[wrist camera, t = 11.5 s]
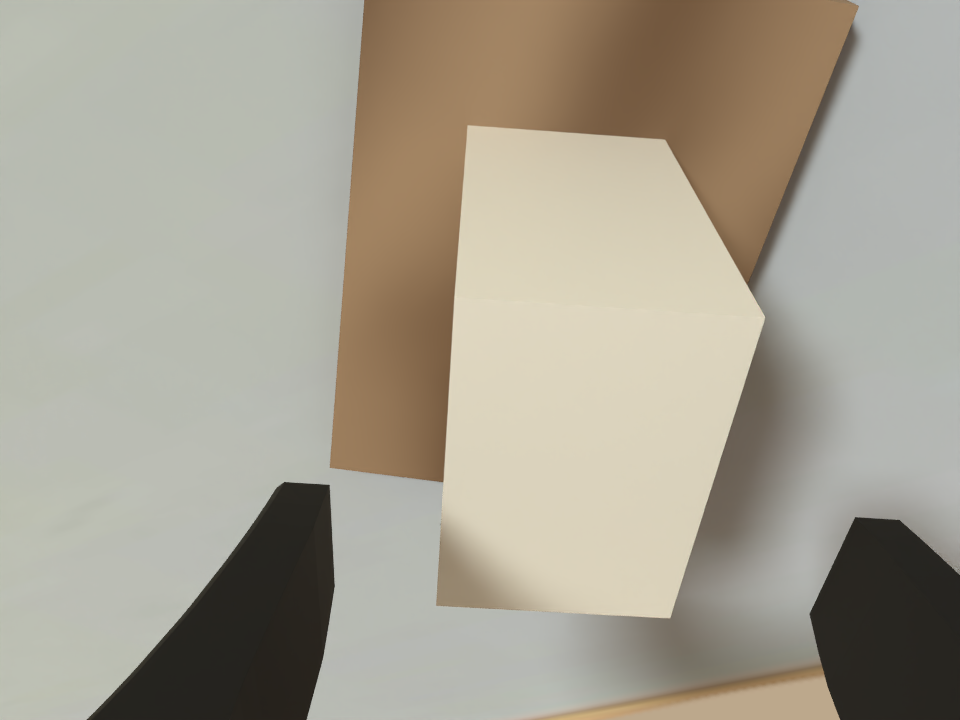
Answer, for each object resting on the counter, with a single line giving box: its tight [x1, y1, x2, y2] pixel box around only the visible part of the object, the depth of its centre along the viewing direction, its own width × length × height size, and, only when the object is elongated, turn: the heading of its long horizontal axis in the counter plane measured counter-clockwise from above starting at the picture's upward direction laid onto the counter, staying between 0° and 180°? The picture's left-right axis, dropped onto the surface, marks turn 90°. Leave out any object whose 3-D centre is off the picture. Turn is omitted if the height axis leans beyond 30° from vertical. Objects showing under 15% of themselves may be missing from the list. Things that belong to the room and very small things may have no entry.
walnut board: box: [330, 0, 859, 482], centre depth 18 cm, size 9×13×1 cm
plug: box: [436, 125, 765, 618], centre depth 15 cm, size 4×6×7 cm, turn 176°
